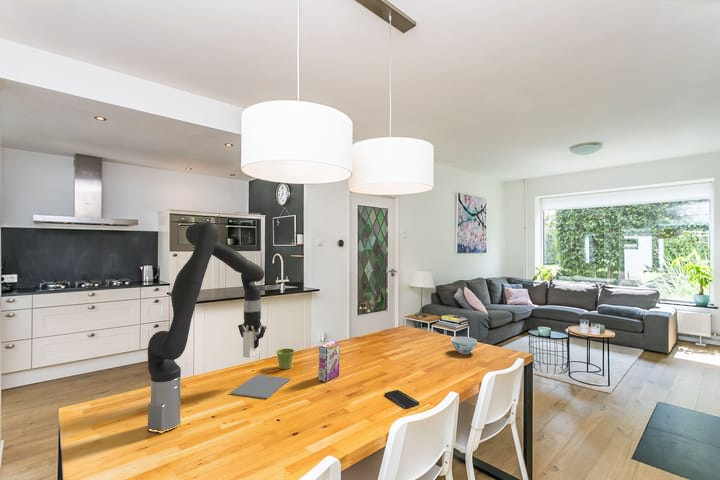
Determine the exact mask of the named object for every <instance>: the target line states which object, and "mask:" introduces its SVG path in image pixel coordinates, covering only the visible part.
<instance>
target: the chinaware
mask: <svg viewBox="0 0 720 480" xmlns="http://www.w3.org/2000/svg"><path fill="white" fill-rule="evenodd" d="M450 340H451V344H452V347H453V348H454V349H455V350H456V351H457V352H458V354H460V353H461V355H469V354H470V353H471V352H472V351H473V350H475V348H476V346H477V343H478V340H477V339H475V338H473V337H469V336H453V337H451V338H450Z"/></svg>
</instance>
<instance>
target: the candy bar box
mask: <svg viewBox="0 0 720 480" xmlns="http://www.w3.org/2000/svg"><path fill="white" fill-rule="evenodd" d="M340 348H341V343H340V342H339V341H333V340H332V341H329V342H326V343H323V344H322V345H319V346H318V381H319V382H323V383H327V382H330V381H331V380H333V379H336V378H337V377H338V376H340V355H341V351H340V350H341V349H340Z"/></svg>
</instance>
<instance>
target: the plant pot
mask: <svg viewBox="0 0 720 480" xmlns="http://www.w3.org/2000/svg"><path fill="white" fill-rule="evenodd" d="M295 351H296V350H294V348H280V349H277V350H276V351H275V353H276V355H277V359H278V368H279V369H280V370H283V369H285V370H289V369H291V368H292V363H293V357H294V353H295Z"/></svg>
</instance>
